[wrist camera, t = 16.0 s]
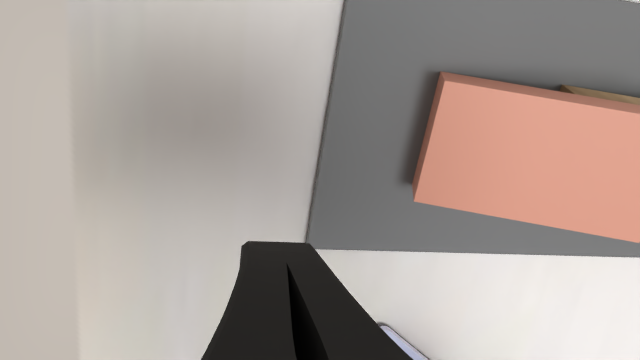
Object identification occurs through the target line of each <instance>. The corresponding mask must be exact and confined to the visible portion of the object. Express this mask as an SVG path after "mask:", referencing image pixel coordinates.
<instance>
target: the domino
mask: <svg viewBox="0 0 640 360" xmlns="http://www.w3.org/2000/svg"><path fill="white" fill-rule="evenodd" d="M412 190H413V199H414V202H419V203H425V204H430V205H436V206H441V207H446V208H452V209H457V210H463V211H468V212H474V213H479V214H484V215H490V216H495V217H501V218H506V219H512V220H517V221H522V222H528V223H533V224H539V225H544V226H550V227H555V228H560V229H566V230H571V231H577V232H582V233H588V234H593V235H598V236H604V237H609V238H615V239H620V240H626V241H631V242H636V243H639V242H640V105H636V104H630V103H624V102H618V101H612V100H606V99H600V98H595V97H589V96H583V95H577V94H571V93H565V92H559V91H553V90H548V89H542V88H536V87H530V86H524V85H518V84H512V83H506V82H501V81H495V80H489V79H483V78H477V77H471V76H465V75H459V74H454V73H448V72H442V71H440V75H439V79H438V83H437V87H436V91H435V95H434V99H433V103H432V107H431V111H430V115H429V119H428V123H427V127H426V131H425V135H424V139H423V143H422V147H421V151H420V155H419V159H418V163H417V167H416V171H415V175H414V179H413V182H412Z"/></svg>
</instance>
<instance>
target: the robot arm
mask: <svg viewBox="0 0 640 360" xmlns="http://www.w3.org/2000/svg"><path fill="white" fill-rule="evenodd" d="M201 360H428V359H427V358H426V357H425V356H423V355H422V354H421V353H420V352H419V351H417V350H416V349H415V348H414V347H412V346H411V345H410V344H409V343H408V342H406V341H405V340H404V339H403V338H401V337H400V336H399V335H398V334H397V333H395V332H394V331H393V330H392V329H390V328H389V327H387V326H379V325H378V324H377V323H376V322H375V321H374V320H373V319H372V318H371V317H370V316H369V315H368V313H367V312H366V311H365V310H364V309H363V308H362V307H361V305H360V304H359V303H358V302H357V301H356V300H355V299H354V297H353V296H352V295H351V294H350V293H349V292H348V290H347V289H346V288H345V287H344V286H343V284H342V283H341V282H340V281H339V279H338V278H337V277H336V276H335V274H334V273H333V272H332V271H331V269H330V268H329V267H328V266H327V264H326V263H325V262H324V260H323V259H322V258H321V257H320V255H319V254H318V253H317V252H316V250H315V249H314V248H313V247H312V245H311V244H310V243H292V242H257V241H248V242H246V243H245V244H244V245H242V248H241V259H240V269H239V273H238V276H237V280H236V283H235V286H234V289H233V291H232V294H231V297H230V299H229V302H228V305H227V307H226V310H225V312H224V314H223V317H222V319H221V321H220V323H219V325H218V327H217V329H216V331H215V333H214V335H213V338H212V340H211V342H210V344H209V346H208V348H207V350H206V352H205V353H204V355H203V357H202V359H201Z"/></svg>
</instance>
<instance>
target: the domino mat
mask: <svg viewBox="0 0 640 360" xmlns="http://www.w3.org/2000/svg"><path fill="white" fill-rule="evenodd" d="M440 71H442V72H448V73H454V74H459V75H465V76H471V77H477V78H483V79H489V80H495V81H501V82H506V83H512V84H518V85H524V86H530V87H536V88H542V89H548V90H553V91H560V88H561V86H562V85H568V86H574V87H579V88H585V89H591V90H597V91H602V92H608V93H614V94H619V95H625V96H631V97H637V98H640V3H634V2H628V1H622V0H345V3H344V9H343V15H342V21H341V27H340V34H339V40H338V46H337V52H336V58H335V65H334V71H333V77H332V83H331V89H330V96H329V102H328V108H327V114H326V120H325V127H324V133H323V139H322V145H321V151H320V157H319V164H318V170H317V176H316V182H315V188H314V195H313V201H312V207H311V213H310V219H309V226H308V232H307V238H306V243H310V244H311V245H312V247H313V248H314V249H333V250H371V251H410V252H448V253H487V254H525V255H564V256H602V257H640V242H639V243H636V242H631V241H626V240H620V239H615V238H609V237H604V236H598V235H593V234H588V233H582V232H577V231H571V230H566V229H560V228H555V227H550V226H544V225H539V224H533V223H528V222H522V221H517V220H512V219H506V218H501V217H495V216H490V215H484V214H479V213H474V212H468V211H463V210H457V209H452V208H446V207H441V206H436V205H430V204H425V203H419V202H414V199H413V190H412V182H413V179H414V175H415V171H416V167H417V163H418V159H419V155H420V151H421V147H422V143H423V139H424V135H425V131H426V127H427V123H428V119H429V115H430V111H431V107H432V103H433V99H434V95H435V91H436V87H437V83H438V79H439V75H440Z"/></svg>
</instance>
